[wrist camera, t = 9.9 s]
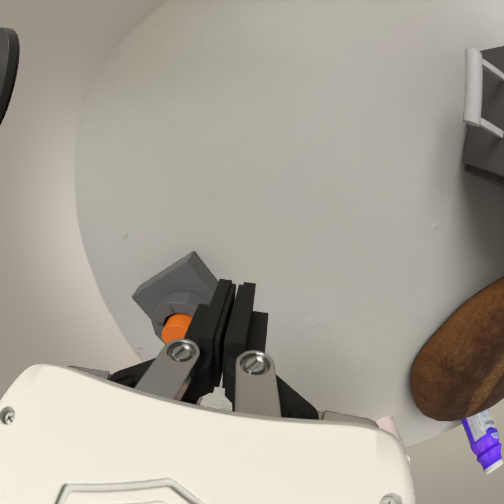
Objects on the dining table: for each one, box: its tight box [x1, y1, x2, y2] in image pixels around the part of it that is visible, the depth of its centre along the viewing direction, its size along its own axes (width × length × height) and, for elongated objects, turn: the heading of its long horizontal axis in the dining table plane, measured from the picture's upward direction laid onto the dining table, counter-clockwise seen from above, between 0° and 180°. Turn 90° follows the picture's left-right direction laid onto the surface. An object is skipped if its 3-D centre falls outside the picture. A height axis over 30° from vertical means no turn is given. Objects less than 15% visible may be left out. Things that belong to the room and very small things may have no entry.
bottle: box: [461, 409, 503, 475], centre depth 27 cm, size 7×6×17 cm
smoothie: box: [375, 417, 410, 463], centre depth 30 cm, size 6×6×14 cm
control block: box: [132, 251, 218, 345], centre depth 26 cm, size 10×8×4 cm
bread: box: [411, 277, 504, 421], centre depth 23 cm, size 28×27×9 cm
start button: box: [162, 313, 193, 344], centre depth 24 cm, size 4×4×2 cm
